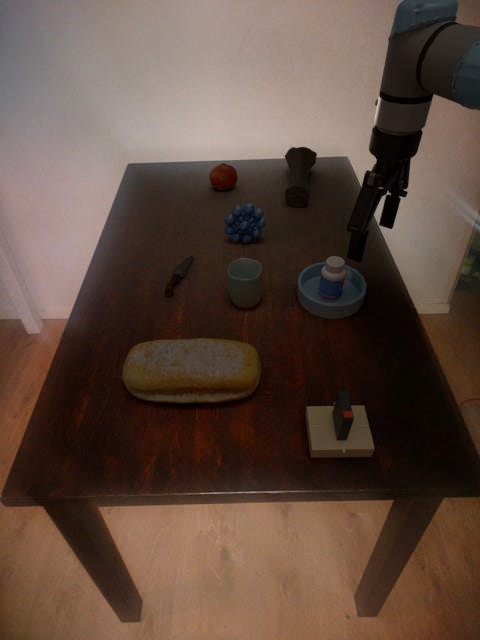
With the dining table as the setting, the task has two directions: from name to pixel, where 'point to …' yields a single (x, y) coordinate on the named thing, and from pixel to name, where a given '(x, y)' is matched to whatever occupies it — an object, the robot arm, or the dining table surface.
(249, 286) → the cup
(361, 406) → the tan flat block
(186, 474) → the dining table surface
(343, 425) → the black block red label
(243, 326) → the dining table surface
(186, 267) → the knife
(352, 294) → the shallow blue dish
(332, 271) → the pill bottle
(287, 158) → the scalloped vase
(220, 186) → the tomato
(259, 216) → the grapes
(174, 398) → the bread
